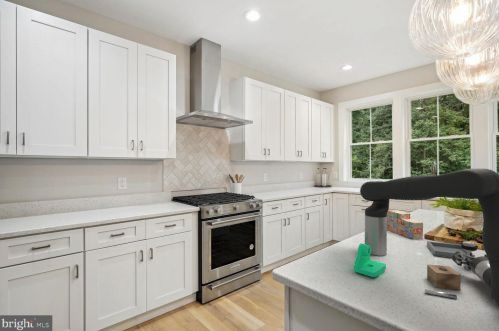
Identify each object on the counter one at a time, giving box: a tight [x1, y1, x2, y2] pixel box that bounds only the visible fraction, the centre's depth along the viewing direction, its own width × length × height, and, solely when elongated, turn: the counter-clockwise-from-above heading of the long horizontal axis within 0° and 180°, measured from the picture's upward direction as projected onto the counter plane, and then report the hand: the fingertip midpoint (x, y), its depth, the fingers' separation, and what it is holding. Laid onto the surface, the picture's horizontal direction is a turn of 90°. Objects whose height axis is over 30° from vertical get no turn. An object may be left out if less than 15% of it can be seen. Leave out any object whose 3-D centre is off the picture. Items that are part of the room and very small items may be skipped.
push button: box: [459, 240, 479, 270], centre depth 100 cm, size 7×5×10 cm
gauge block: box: [426, 264, 462, 291], centre depth 87 cm, size 7×7×5 cm
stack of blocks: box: [387, 209, 424, 240], centre depth 147 cm, size 21×6×12 cm, turn 8°
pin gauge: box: [424, 289, 458, 299], centre depth 79 cm, size 8×1×1 cm, turn 66°
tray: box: [426, 240, 476, 260], centre depth 116 cm, size 14×15×2 cm
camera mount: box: [353, 242, 387, 278], centre depth 97 cm, size 12×8×10 cm, turn 133°
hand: (471, 255), depth 98 cm, fingers open, 8 cm apart
